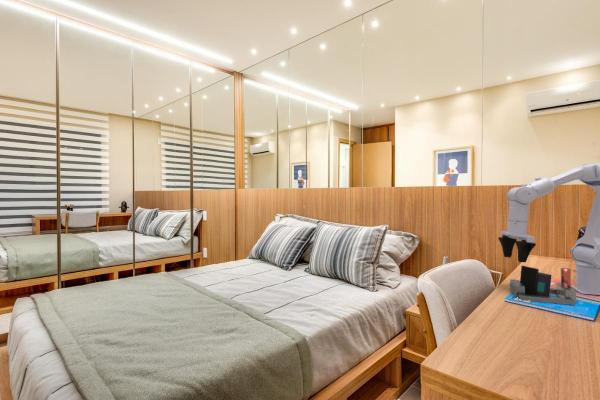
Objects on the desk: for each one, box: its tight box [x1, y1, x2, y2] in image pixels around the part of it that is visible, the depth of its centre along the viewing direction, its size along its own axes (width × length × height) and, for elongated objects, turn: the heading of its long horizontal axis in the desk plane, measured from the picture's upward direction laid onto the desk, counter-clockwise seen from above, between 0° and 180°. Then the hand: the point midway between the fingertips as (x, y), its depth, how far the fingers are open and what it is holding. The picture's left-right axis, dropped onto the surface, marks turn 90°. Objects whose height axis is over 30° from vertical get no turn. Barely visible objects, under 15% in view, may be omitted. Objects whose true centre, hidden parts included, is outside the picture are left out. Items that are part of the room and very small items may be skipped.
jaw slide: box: [555, 267, 577, 304], centre depth 97 cm, size 3×8×10 cm, turn 156°
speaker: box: [519, 265, 552, 297], centre depth 100 cm, size 8×6×10 cm
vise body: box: [509, 278, 576, 306], centre depth 100 cm, size 14×12×4 cm
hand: (514, 259), depth 107 cm, fingers open, 7 cm apart
